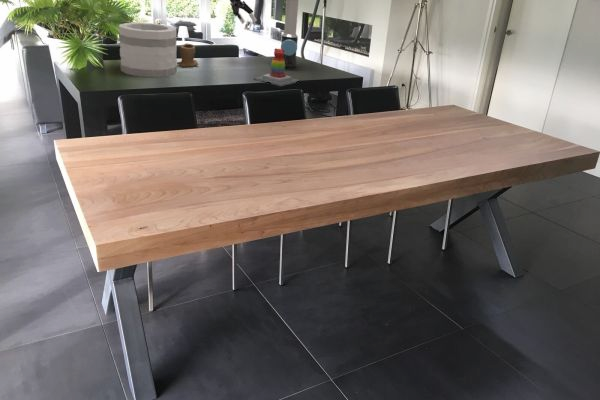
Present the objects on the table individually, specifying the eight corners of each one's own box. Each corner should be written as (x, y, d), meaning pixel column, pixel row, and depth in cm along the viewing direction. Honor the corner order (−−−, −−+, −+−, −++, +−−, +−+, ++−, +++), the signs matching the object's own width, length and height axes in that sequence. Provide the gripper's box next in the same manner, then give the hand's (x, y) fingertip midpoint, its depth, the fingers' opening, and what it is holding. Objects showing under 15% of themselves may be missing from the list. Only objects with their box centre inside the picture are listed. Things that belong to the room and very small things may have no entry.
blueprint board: (272, 75, 350) (273, 70, 348) (299, 81, 340) (299, 77, 339) (253, 79, 333) (254, 74, 331) (280, 86, 323) (281, 81, 321)
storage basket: (164, 64, 347) (163, 23, 335) (185, 76, 323) (185, 31, 311) (113, 66, 328) (110, 22, 316) (132, 78, 303) (129, 31, 291)
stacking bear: (286, 75, 339) (288, 48, 332) (284, 78, 330) (286, 50, 323) (270, 73, 340) (272, 46, 332) (268, 76, 331) (270, 48, 323)
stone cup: (184, 68, 341) (183, 46, 334) (174, 65, 348) (174, 43, 342) (202, 67, 351) (203, 45, 344) (193, 63, 358) (193, 42, 352)
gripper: (241, -1, 361) (256, 24, 361) (218, 0, 342) (235, 26, 342) (247, -8, 357) (263, 17, 357) (225, -8, 337) (241, 19, 337)
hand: (249, 22), depth 349 cm, fingers open, 13 cm apart
